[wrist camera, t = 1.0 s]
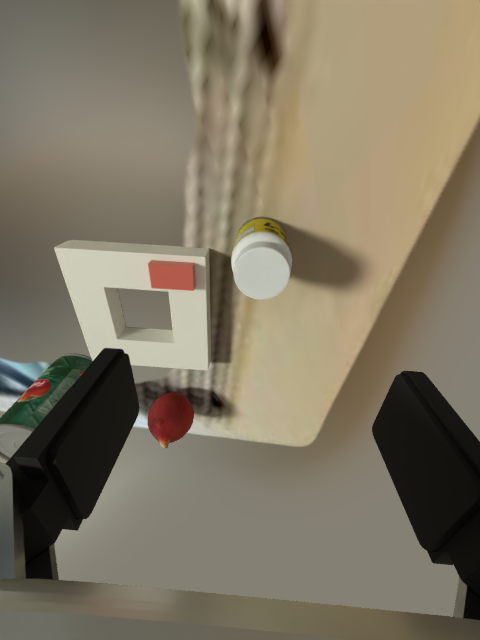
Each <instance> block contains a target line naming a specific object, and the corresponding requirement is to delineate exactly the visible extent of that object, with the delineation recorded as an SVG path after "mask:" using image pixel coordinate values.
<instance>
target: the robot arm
mask: <svg viewBox="0 0 480 640" xmlns="http://www.w3.org/2000/svg"><path fill="white" fill-rule="evenodd" d="M138 413H139V403H138V398H137V393H136V388H135V383H134V378H133V373H132V368H131V363H130V358H129V355H128V354H126V353H124V351H123V349H115V348H104V349H103V350H102V351H101V352H100V353H99V354H98V356H97V357H96V358H95V359H94V360H93V362H92V363H91V364H90V365H89V366H88V368H87V369H86V370H85V371H84V372H83V374H82V375H81V376H80V377H79V378H78V379H77V381H76V382H75V383H74V384H73V385H72V386H71V387H70V388H69V389H68V390H67V392H66V393H65V394H64V395H63V396H62V397H61V399H60V400H59V401H58V402H57V403H56V405H55V406H54V407H53V408H52V409H51V411H50V412H49V413H48V414H47V415H46V416H45V418H44V419H43V420H42V421H41V422H40V424H39V425H38V426H37V427H36V428H35V430H34V431H33V432H32V433H31V434H30V435H29V437H28V438H27V439H26V440H25V441H24V443H23V444H22V445H21V446H20V447H19V449H18V450H17V451H16V452H15V453H14V454H13V456H12V457H11V458H10V459H9V460H8V462H7V463H6V464H5V463H0V640H480V442H479V440H478V439H477V438H476V437H475V435H474V434H473V433H472V432H471V430H470V429H469V428H468V427H467V425H466V424H465V423H464V422H463V420H462V419H461V418H460V417H459V416H458V414H457V413H456V412H455V411H454V409H453V408H452V407H451V405H450V404H449V403H448V402H447V400H446V399H445V398H444V397H443V396H442V394H441V393H440V392H439V391H438V389H437V388H436V387H435V386H434V384H433V383H432V382H431V381H430V379H429V378H428V377H427V376H426V375H425V374H424V373H422V372H414V371H403V372H401V374H400V375H397V376H396V377H395V379H394V381H393V383H392V385H391V387H390V389H389V392H388V393H387V396H386V398H385V400H384V402H383V404H382V407H381V409H380V411H379V413H378V415H377V417H376V419H375V422H374V424H373V426H372V432H373V436H374V439H375V441H376V443H377V446H378V448H379V450H380V452H381V455H382V457H383V459H384V462H385V464H386V467H387V469H388V471H389V473H390V476H391V478H392V480H393V483H394V485H395V488H396V490H397V492H398V494H399V497H400V499H401V502H402V504H403V506H404V509H405V511H406V513H407V515H408V518H409V520H410V523H411V525H412V527H413V529H414V532H415V534H416V537H417V539H418V541H419V543H420V545H421V546H422V547H423V548H424V549H425V550H427V551H428V553H429V556H430V558H431V561H432V562H433V563H437V564H447V565H453V564H454V566H455V568H456V570H457V572H458V574H459V583H458V589H457V596H456V602H455V608H454V614H453V617H449V616H438V615H429V614H418V613H409V612H399V611H390V610H379V609H370V608H360V607H350V606H340V605H330V604H320V603H309V602H298V601H289V600H279V599H268V598H258V597H247V596H237V595H226V594H216V593H205V592H194V591H183V590H172V589H161V588H149V587H139V586H128V585H117V584H107V583H91V582H78V581H63V580H59V579H58V578H59V577H58V570H57V563H56V555H55V548H54V547H55V546H54V543H55V541H56V540H57V538H58V536H59V534H60V532H61V530H62V529H69V530H78V528H79V526H80V524H81V522H82V520H83V519H87V518H88V517H89V515H90V514H91V513H92V511H93V509H94V507H95V504H96V502H97V500H98V498H99V496H100V494H101V492H102V490H103V488H104V485H105V483H106V481H107V479H108V477H109V475H110V473H111V471H112V468H113V467H114V465H115V462H116V460H117V458H118V456H119V454H120V452H121V450H122V448H123V446H124V444H125V441H126V439H127V437H128V435H129V433H130V431H131V429H132V427H133V425H134V423H135V421H136V418H137V416H138Z"/></svg>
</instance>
